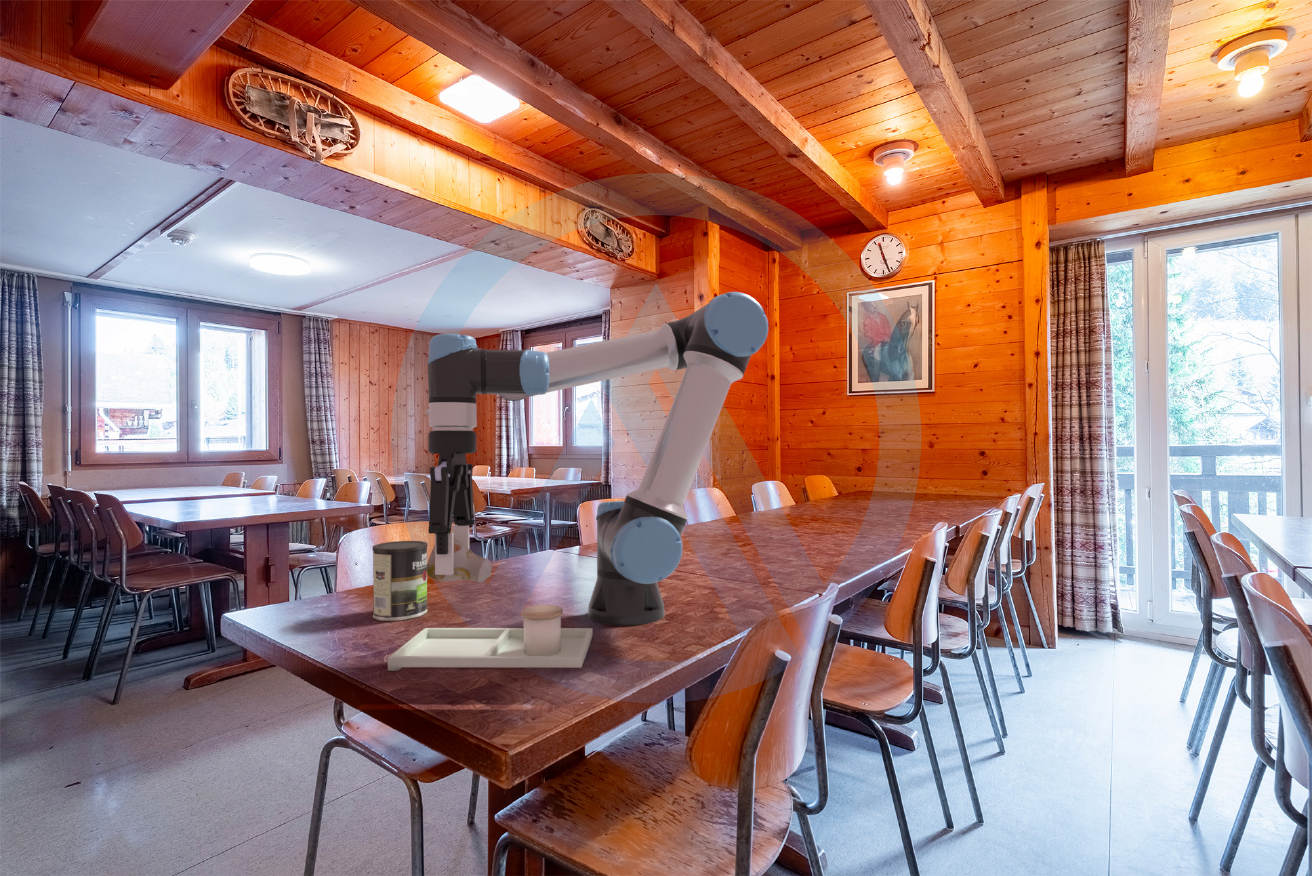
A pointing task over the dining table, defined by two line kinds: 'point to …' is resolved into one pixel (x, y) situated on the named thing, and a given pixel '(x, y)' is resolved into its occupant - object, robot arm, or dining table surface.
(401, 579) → the coffee can
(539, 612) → the sugar pot
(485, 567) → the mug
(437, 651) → the caddy
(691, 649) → the dining table surface
